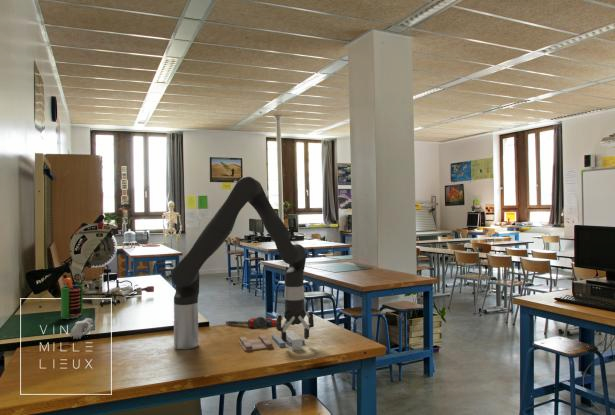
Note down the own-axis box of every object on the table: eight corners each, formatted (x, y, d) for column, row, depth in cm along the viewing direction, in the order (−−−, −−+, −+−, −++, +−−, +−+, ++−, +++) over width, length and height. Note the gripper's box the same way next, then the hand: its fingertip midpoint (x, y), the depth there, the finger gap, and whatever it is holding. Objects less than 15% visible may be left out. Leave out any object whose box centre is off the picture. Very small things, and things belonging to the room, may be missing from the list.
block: (302, 349, 168) (302, 338, 168) (292, 350, 167) (292, 340, 167) (290, 339, 182) (290, 329, 182) (281, 340, 180) (281, 330, 180)
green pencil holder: (74, 320, 222) (74, 279, 222) (56, 320, 222) (56, 279, 222) (85, 315, 232) (84, 276, 232) (67, 315, 232) (67, 276, 232)
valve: (286, 328, 211) (272, 332, 197) (237, 326, 219) (221, 330, 206) (286, 314, 212) (272, 317, 198) (237, 313, 220) (221, 315, 206)
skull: (62, 334, 187) (75, 310, 196) (73, 346, 193) (85, 321, 202) (79, 334, 186) (91, 309, 195) (89, 345, 192) (101, 321, 200)
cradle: (273, 352, 170) (273, 343, 170) (245, 355, 167) (245, 347, 167) (265, 342, 183) (265, 334, 183) (238, 345, 179) (238, 337, 179)
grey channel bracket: (305, 347, 175) (305, 340, 175) (278, 351, 171) (278, 343, 171) (296, 339, 186) (296, 332, 186) (270, 342, 183) (270, 334, 183)
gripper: (308, 294, 176) (309, 335, 177) (273, 297, 172) (274, 339, 172) (315, 297, 169) (316, 340, 169) (279, 301, 165) (280, 345, 165)
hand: (295, 340), depth 171 cm, fingers open, 8 cm apart
